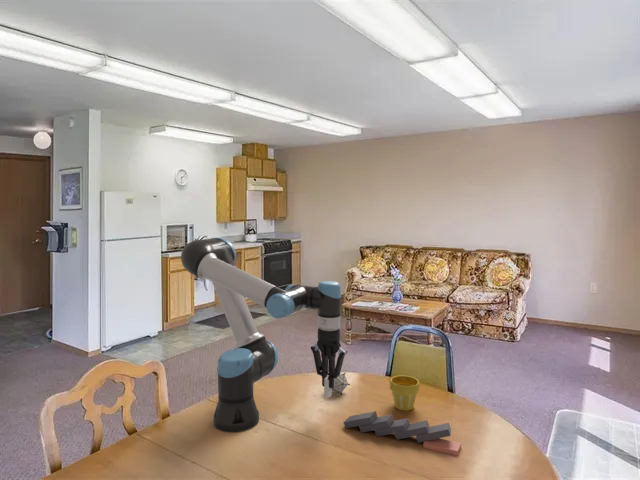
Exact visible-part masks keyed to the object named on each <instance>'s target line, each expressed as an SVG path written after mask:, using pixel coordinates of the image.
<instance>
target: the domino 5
mask: <svg viewBox="0 0 640 480" xmlns="http://www.w3.org/2000/svg"><path fill="white" fill-rule="evenodd" d="M451 432H452V429H451V425H450V422H446V423H441V424H436V425H432V426H429V431H428V433H426V434H421V435H417V436H415V437H416V441H417V443H418V444H419V443H422V442H423V443H424V441H428V440H433V439H438V438H440V439H444V438H446V437H451V434H452V433H451Z"/></svg>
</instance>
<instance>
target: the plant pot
mask: <svg viewBox="0 0 640 480" xmlns="http://www.w3.org/2000/svg"><path fill="white" fill-rule="evenodd" d="M419 380H420V379H418V378H416V377H414V376H411V375H404V374H403V375H394V376H392V377H391V378H390V380H389V382H390V383H389V384H390V385H389V389H390V391H392V399H393V403H394V408H396V409H397V410H400V411H404V412H405V411H411V410H413V409H414V406H415V402H416V399H417V394H418V393H419V390H420V381H419Z"/></svg>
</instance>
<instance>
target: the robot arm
mask: <svg viewBox="0 0 640 480" xmlns="http://www.w3.org/2000/svg"><path fill="white" fill-rule="evenodd" d="M236 257H237V252H236V249H235V247H234V245H233V243H232V242H230V241H229V240H227V239H225V238H221V237H220V238H219V237H211V238H207V239H196V240H192V241H190V242H189V243H186V245H185V246H184V247H183V248H182V250H181V254H180V262H181V264H182V267H183V268H184V269H185V271H187V272H188V273H190V275H193V276H194V277H196V278H199V279H201V280H207V281H210V282H211V283H212V285H213V288H214V289H215V293H216V295H217V298H218V300H219V303H220V306H221V307H222V310H223V312H224V315H225V317H226V319H227V323H228V325H229V326H230V330H231V332H232V335H233V337H234V340H235V345H234V348H233V349H229V350H228V349H227V350H226V351H224V352H222V354H220V355H219V357H218V359H217V367H216V370H217V392H218V393H217V395H218V397H217V398H218V399H217V400H218V401H217V404H216V407H215V411H214V414H213V426H214V428H215V429H217V430H219V431H221V432H225V433H226V432H227V433H235V432H243V431H247V430H249V429H252V428H254V427H255V426H256V425H257V424H258V423H259V422H260V412H259V410H258V408H257V404H256V402H255V399H254V398H255V397H254V384H255V383H256V382H258V381H259V380H261V379H262V378H263V377H266V376H268V375H269V374H271V372H272V371H273V370H274V369H275V368H277V367H276V366H277V364H278V361H279V354H278V350H277V348H276V346H275V344H274V343H273V342H271V341H269V340H267V339H266V338H267V337H266V336H265V335H264V333H260V332H259V330H258V328H257V325H256V324H255V320H254V319H253V316H252V313H251V311H250V309H249V306H248V304H247V302H246V299H248V300H250V301H251V302H253V303H256V304H258V305H259V306H262V307H263V308H266V310H267V312H268V313H269V315H270V316H271V317H273V318H274V319H283V318H287V317H289V316H291V315H292V314H295V313H296V312H298V311H300V310H303V309H310V310H311V309H312V310H317V327H318V328H317V341H316V344H313V345H312V346H310V350H311V353H313V354H312V355H313V360H314V364H315V365H314V366H315V370H316V374H317V375H318V376H321V378H322V380H321V385H322V387H323V398H324V399H325V398H326V399H329V398H330V397H331V396H332V395H333V391H332V388H333V387H334V378H337V377H338V376H339V375H340V373H341V371H342V367H343V362H344V359H345V356H346V355H347V353H348V350H347V349H343V348H342V345H341V343H340V342H341V341H340V340H341V303H342V302H341V300H342V293H341V292H342V291H341V284H340V283H339V282H337V281H334V280H330V281H329V280H325V281H320V282H318V286H311V285H301V284H289V285H287V286H286V288H285V289H282V288H280V287H278V286H276V285H274V284H271V283H270V282H269V281H268V282H267V281H266V280H264V279H262V278H259V277H258V276H255V275H253V274H251V273H249V272H247V271H245V270H243V269H241V268H238V267H237V266H236V263H235V261H236ZM337 353H338V354H337ZM337 355H338V357H337V360H336V356H337Z"/></svg>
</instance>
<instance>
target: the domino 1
mask: <svg viewBox="0 0 640 480" xmlns="http://www.w3.org/2000/svg"><path fill="white" fill-rule="evenodd" d="M378 417H379V416H378V414H377V411H376V410H374V411H370V412H365V413H360V414H355V415H350V416H349V417H347V418H346V419H345V420H344V421H343V422H342V423H343V425H344V428H345V429H349V428H355V427H359V426H361V425H367V424H372V423H373V422H374V421H375V420H376V419H377V418H378Z"/></svg>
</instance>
